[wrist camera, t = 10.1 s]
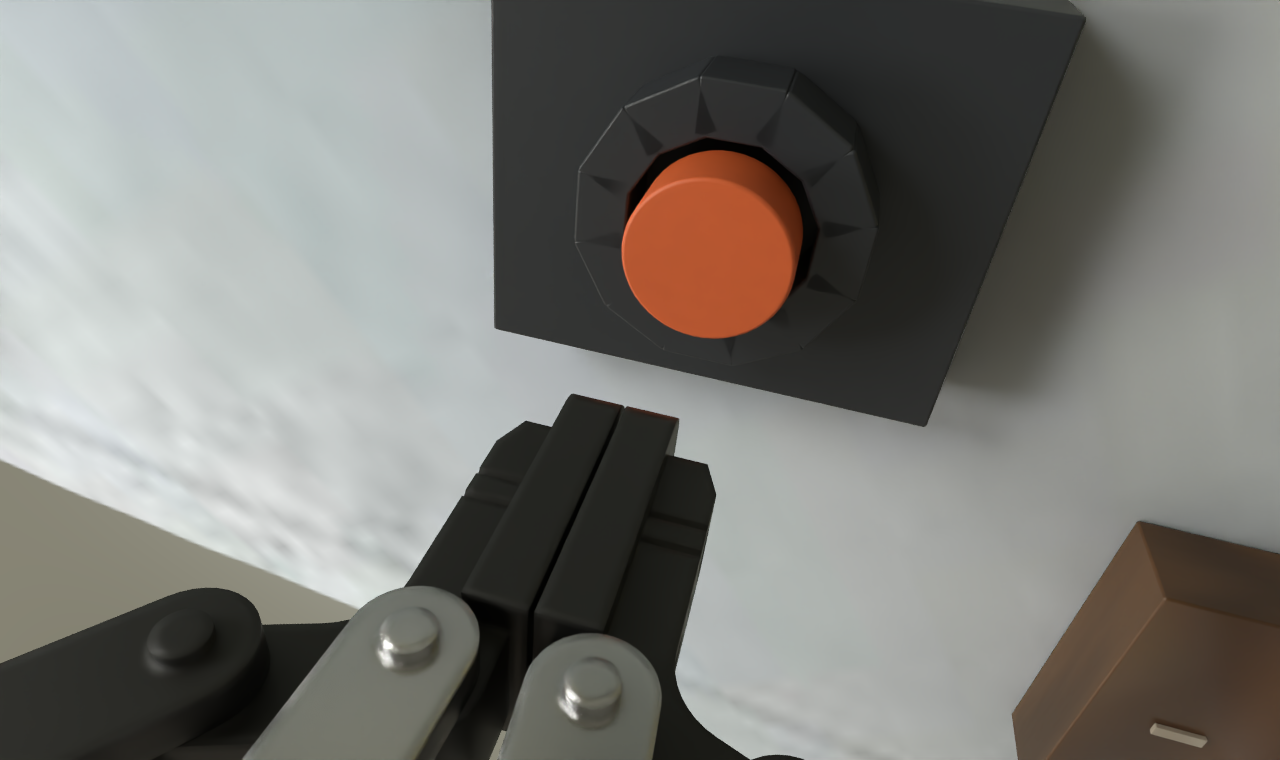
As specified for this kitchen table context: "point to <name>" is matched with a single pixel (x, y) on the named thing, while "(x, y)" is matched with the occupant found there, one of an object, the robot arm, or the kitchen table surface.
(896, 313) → the push button box
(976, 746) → the kitchen table surface
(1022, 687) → the kitchen table surface
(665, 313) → the button
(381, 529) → the kitchen table surface
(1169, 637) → the base
